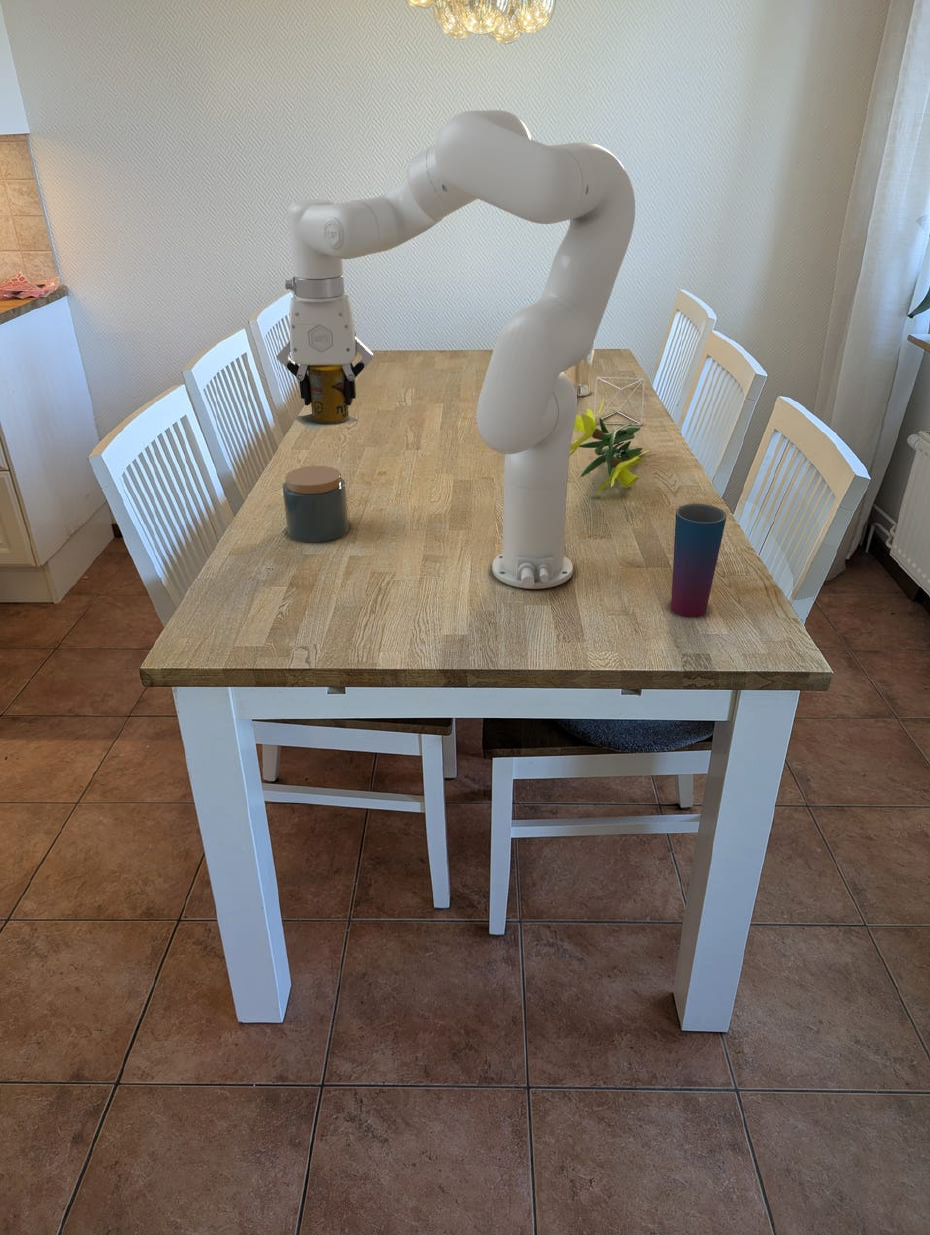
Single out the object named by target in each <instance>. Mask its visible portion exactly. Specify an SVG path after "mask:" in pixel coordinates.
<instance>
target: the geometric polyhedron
mask: <svg viewBox="0 0 930 1235" xmlns="http://www.w3.org/2000/svg"><path fill="white" fill-rule="evenodd" d="M604 379H619V380H620V379H623V380H624V379H625V380H637V381H634V382H633V383H630V384H627V385H626V386H623V387H619V386H617V385H615V384H613V383H610V382H609V381H606V380H604ZM645 380H646V379H645V378H644V377H617V376H616V377H615V376H597V377H596V378H595V392H594V405H593V406H594V409H593V410H594V411H593V418H594V420H595V421H596V419H595V417H596V404H597V403H596V401H597V389H598V388H597V387H598V383H599V385H600V386H601V388H602V390H603V392H604V393H605V395H606V397H607V399H608V400H609V402H608V404H607V405H606V406H605V408H604V409H603V410H601V412H600V413H599V416H598V420H597V425H598V424H599V425H600V420H599V418H601V415H602V414H603V413H604V411H606V409H607V408H608V407H609V406H610V404H611V405H612V406H613V408H614V410H615V411H614V412H612V413H610V414H608V415H605V416H604V417H602V418H601V420H602V421H603V420H604V419H606V418H609V417H610V416H612V415H614V414H617V413H618V414H620V415H621V416H624V417H625V418H627V419H629V420H631V421H633V422H635V423H631V424H632V425H631V426H642V425H643V414H644V398H645ZM601 382H604V383H606V384H608V385H610V386H612V387H614V388H616V389H618V391H617V392H616V393H615V395H614V397H613V398H612V399H611V398H610V396H609V394H608V393H607V391H606V389H605V388H604V385H603V384H602V383H601ZM637 383H639V384H638V385H637V386H636V387H635V389H634V390H633V391H632V392H631V393H630V394H629V396H628V397H627V396H626V394H625V392H624V389H626V388H628V387H631V386H633V385H635V384H637ZM642 383H643V384H642ZM641 384H642V385H643V386H642V400H641V401H642V402H641V419H640V418H639V417H638V415H637V413H636V412H635V410H634V408H633V406H632V405H631V403H630V401H629V399H630V398H631V396H632V395H633V394H634V393H635V392H636V391H637V389H638V388H639V387H640V385H641ZM620 392H621V393H622V395H623V396H624V398H625V401H624V402H623V403H622V404H621V406H620V407H619V408H618V409H617V408H616V406H615V405H614V403H613V401H614V400H615V398H616V397H617V396H618V394H619V393H620ZM626 402H627V404H628V405H629V407H630V409H631V410H632V412H633V413H634V416H635V417H636V419H637V420H638V421H637V420H636V419H633V418H632V417H629V416H627V415H625V414H624V413H622V412H621V411H620V410H621V408H622V407H623V406H624V405H625V404H626ZM603 423H604V425H626V424H627V422H625V423H623V422H622V423H621V422H603Z"/></svg>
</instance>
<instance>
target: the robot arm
mask: <svg viewBox="0 0 930 1235" xmlns="http://www.w3.org/2000/svg"><path fill="white" fill-rule="evenodd" d="M477 200H480V201H481V202H484V203H487V204H489V205H491V206H493V207H495V208H498V209H500V210H502V211H504V212H506V213H509V214H511V215H513V216H515V217H518V218H520V219H523V220H525V221H527V222H531V223H534V224H539V225H551V224H552V225H553V224H558V223H562V222H566V221H569V225H568V229H567V231H566V233H565V235H564V237H563V239H562V241H561V243H560V245H559V247H558V248H557V250H556V253H555V255H554V258H553V260H552V264H551V267H550V271H549V274H548V277H547V279H546V283H545V285H544V288H543V290H542V293H541V295H540V297H539V298H538V299H537V300H536V301H535V302H534V303H531V304H528V305H526V306H524V307H522V308H519V310H516V312H513V314H511V316H510V317H509V318H508V319H507V320H506V322H505V323H504V325H503V326H502V328H501V330H500V332H499V334H498V336H497V338H496V341H495V345H494V347H493V350H492V354H491V357H490V360H489V364H488V367H487V370H486V374H485V377H484V380H483V383H482V386H481V390H480V393H479V397H478V400H477V405H476V412H475V420H476V421H475V422H476V427H477V431H478V434H479V436H480V438H481V440H482V441H483V442H484V444H485V445H486V446H487V447H488V448H490V449H491V450H492V451H494V452H496V453H499V454H503V455H504V460H503V461H504V463H503V492H502V493H503V495H502V496H503V499H502V501H503V502H502V503H503V504H502V553H500V554H499V555H497V556H496V557H495V558H494V559H493V561H492V563H491V564H492V566H491V569H492V570H491V571H492V574H493V576H494V577H495V578H496V579H498V580H499V581H500V582H502V583H503V584H505V585H508V586H511V587H515V588H521V589H527V590H528V589H530V590H543V589H549V588H554V587H557V586H560V585H562V584H564V583H566V582H568V580H569V579H571V578H572V576H573V573H574V564H573V562H572V560H570V558H568V557H567V556H566V555H564V553H565V537H566V535H565V534H566V518H567V516H566V515H567V499H568V498H567V496H568V480H569V470H570V469H569V468H570V457H571V455H570V453H571V451H570V447H571V445H572V439H573V434H574V430H575V429H574V425H575V420H576V414H577V413H578V396H577V395H576V391H575V388H574V386H573V384H572V382H571V380H570V379H569V378H568V375H567V373H565V371H567V369H569V368H571V367H573V366H574V365H576V364H578V363H579V362H581V361H582V360H583V359H584V358H585V357H586V356H587V355H588V353H589V352H590V350H591V348H592V345H593V343H594V344H595V340H596V337H597V334H598V331H599V328H600V326H601V323H602V321H603V317H604V314H605V312H606V309H607V307H608V303H609V301H610V297H611V295H612V292H613V289H614V286H615V282H616V280H617V278H618V275H619V273H620V269H621V266H622V264H623V261H624V259H625V256H626V253H627V251H628V247H629V245H630V241H631V238H632V235H633V231H634V226H635V219H636V199H635V192H634V188H633V184H632V182H631V179H630V176H629V173H627V170H626V169H625V167H624V166H623V164H622V163H621V161H620V160H619V159H618V158H617V157H616V156H615V155H614V154H613V153H612V152H610V151H609V150H608V149H606V148H604V147H603V146H601V145H598V144H595V143H591V142H583V141H582V142H581V141H579V142H570V143H569V142H567V143H561V144H552V145H547V144H544V143H541V142H539V141H537V140H534V139H532V137H531V134H530V132H529V129H528V127H527V126H526V124H525V123H524V122H523V121H522V120H521V118H520V117H518V116H517V115H516V114H514V113H512V112H509V111H506V110H502V109H487V110H486V109H485V110H466V111H463V112H459V113H457V114H456V115H454V116H452V117H451V118H450V119H448V120H447V121H446V122H445V124H443V125H442V127H441V129H440V130H439V132H438V135H437V137H436V140H435V143H434V144H432V145H430V146H429V147H427V148H426V149H423V150H422V151H421V152H418V153H417V154H416V155H414V156H413V157H412V158H411V159H410V161H409V162H408V165H407V170H406V179H405V180H404V181H403V182H401V183H400V184H398V185H396V186H395V187H392V188H391V189H389V190H387V191H386V192H384V193H382V194H380V195H378V196H376V197H370V198H361V199H356V200H354V199H353V200H350V201H343V202H338V203H335V202H334V201H332V200H327V199H319V198H318V199H300V200H296V201H293V202H292V203H291V204H290V205H289V206H288V210H287V214H288V215H287V216H288V217H287V218H288V228H289V238H290V239H289V240H290V250H291V260H292V270H293V277H292V279H291V278H290V279H285V281H284V286H285V289H286V290H290V291H293V293H294V296H293V297H291V298H290V301H289V341H288V342H287V343H286V344H285V345H284V347H283V348H282V349H280V351H279V352H278V354H277V355H276V360H278V361H279V363H281V364H282V365H283V366H284V367H286V369H287V370H288V371H289V372H290V373H291V374H292V375H294V377H295V378H296V380H297V381H298V382H299V393H300V399H301V400H304V406H309V405H310V406H311V397H310V386H309V376H308V365H341V366H342V368H343V370H344V372H345V374H346V380H345V382H344V385H345V399H346V405H348V406H352V403H353V401H354V400H355V399H356V397H357V389H356V388H357V387H356V378H357V377H358V376H359V375H360V374H361V372H363V370H364V369H365V368H366V367H367V366H368V365H369V364H370V363H371V362H372V361H373V359H374V357H375V354H374V352H372V351H371V350H370V349H369V348H368V347H367V346H366V345H365V344H364V343H363V342H362V341H361V340H360V339H359V338H358V337H357V331H356V324H355V318H354V317H355V316H354V312H353V308H352V303H351V298H350V296H349V295H347V294H345V282H344V280H345V279H344V265H343V260H351V259H356V258H361V257H366V256H369V255H374V254H377V253H383V252H386V251H390V250H392V249H395V248H397V247H399V246H401V245H403V244H404V243H406V242H408V241H411V240H412V239H414V238H416V237H418V236H419V235H421V234H423V233H425V232H427V231H429V229H432V227H434V226H435V225H438V223H440V222H441V221H442V220H443V219H444V218H445V217H447V216H449V215H451V214H452V213H455V212H456V211H458V210H460V209H462V208H463V207H466V206H467V205H469V204H471V203H472V202H475V201H477ZM289 354H290V356H291V358H290V356H289ZM358 354H360V355H361V359H360V360H359V361H358V362H357V363H356V364H355V365H354V364H353V362H354V361H355V360H356V357H357V355H358ZM577 415H578V414H577Z"/></svg>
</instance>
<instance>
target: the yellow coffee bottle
mask: <svg viewBox="0 0 930 1235" xmlns="http://www.w3.org/2000/svg"><path fill="white" fill-rule="evenodd" d="M307 374H308V376H309V386H310V397H311V403H310V406H311V408H310V409H311V413H310V414H305V415H296V416H293V417H292V418H293V419H294V420H295V421H297V422H298V423H300V424H301V425H303V426H305V427H306V428H307V429H309V430H312V431H313V430H316V429H321V428H327V427H331V426H332V427H333V426H340V425H344V424H350V423H355V422H358V421H359V420H358V419H357V418H355V417H353V416H351V415H349V414H350V413H349V405H346V399H345V385H344V382H345V380H346V374H345V372H344V370H343V368H342V366H341V365H308V372H307Z"/></svg>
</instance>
